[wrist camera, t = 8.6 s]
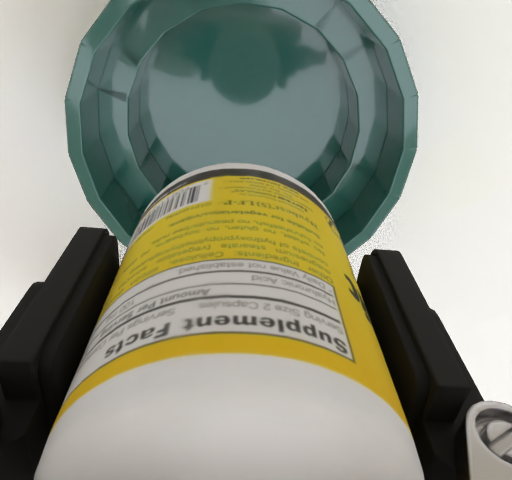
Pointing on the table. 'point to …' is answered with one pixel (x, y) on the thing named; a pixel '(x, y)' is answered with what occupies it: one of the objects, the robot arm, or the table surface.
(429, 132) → the table surface
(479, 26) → the table surface
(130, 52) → the teal round bowl
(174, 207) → the supplement bottle
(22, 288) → the table surface
